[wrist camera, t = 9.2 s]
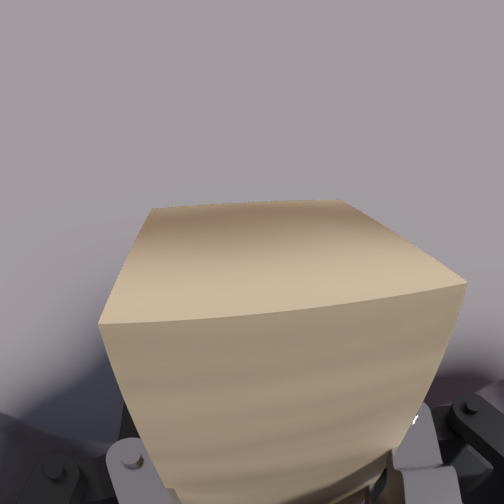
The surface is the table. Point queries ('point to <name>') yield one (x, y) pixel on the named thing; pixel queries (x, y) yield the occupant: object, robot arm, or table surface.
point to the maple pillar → (275, 347)
